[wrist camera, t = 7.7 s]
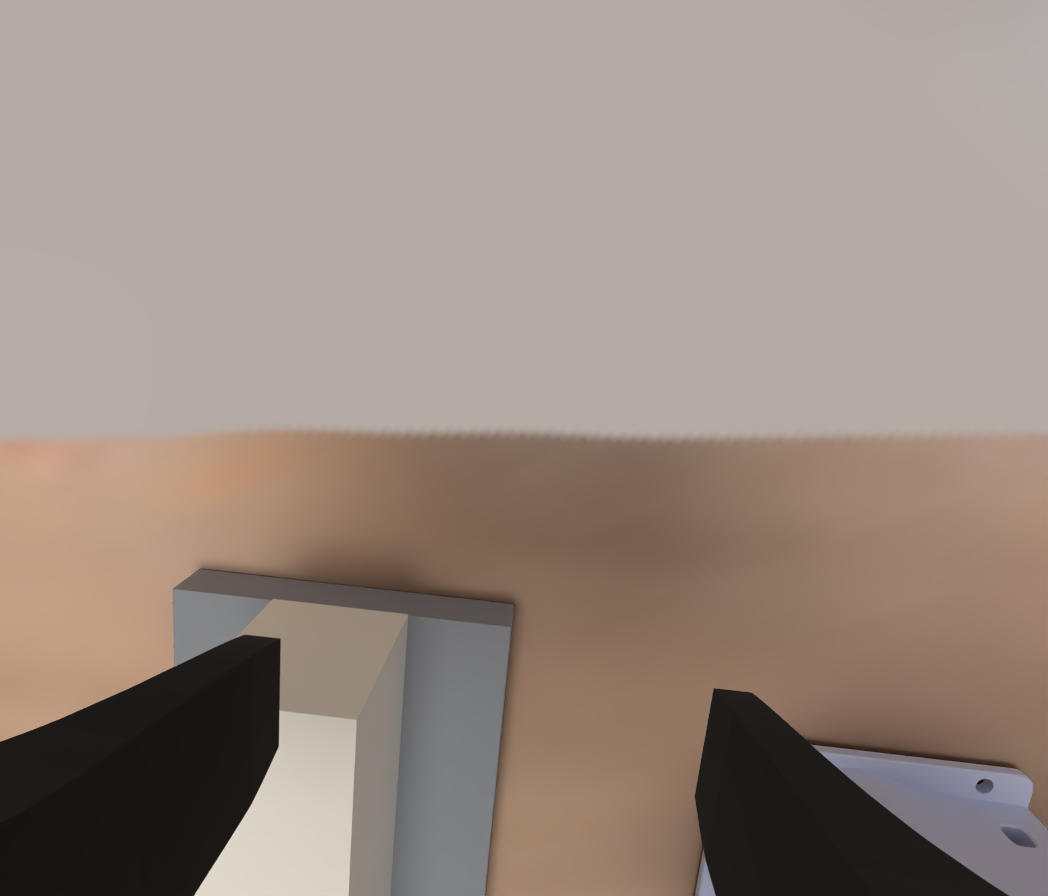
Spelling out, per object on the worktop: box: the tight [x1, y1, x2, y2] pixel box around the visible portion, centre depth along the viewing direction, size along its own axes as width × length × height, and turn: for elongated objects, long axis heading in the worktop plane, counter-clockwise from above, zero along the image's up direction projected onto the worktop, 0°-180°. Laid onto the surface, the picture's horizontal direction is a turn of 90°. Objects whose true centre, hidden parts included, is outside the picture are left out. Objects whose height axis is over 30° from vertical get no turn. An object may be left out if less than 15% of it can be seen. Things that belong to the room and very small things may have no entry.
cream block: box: [194, 599, 408, 896], centre depth 18 cm, size 4×11×5 cm, turn 174°
